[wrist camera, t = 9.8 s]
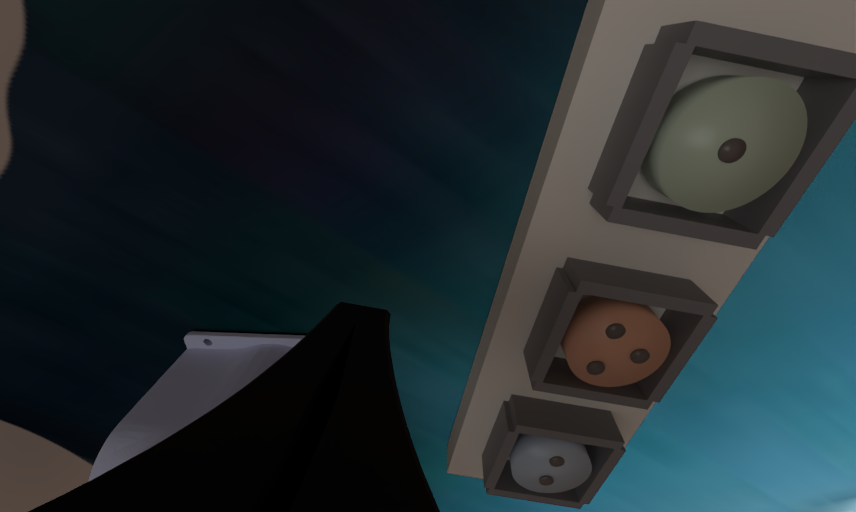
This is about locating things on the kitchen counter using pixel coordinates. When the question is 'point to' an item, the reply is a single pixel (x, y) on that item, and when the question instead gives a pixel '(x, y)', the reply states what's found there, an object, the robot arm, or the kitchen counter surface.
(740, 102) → the one pip button
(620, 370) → the three pip button
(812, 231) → the kitchen counter surface
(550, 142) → the button panel
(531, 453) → the two pip button
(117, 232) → the kitchen counter surface
